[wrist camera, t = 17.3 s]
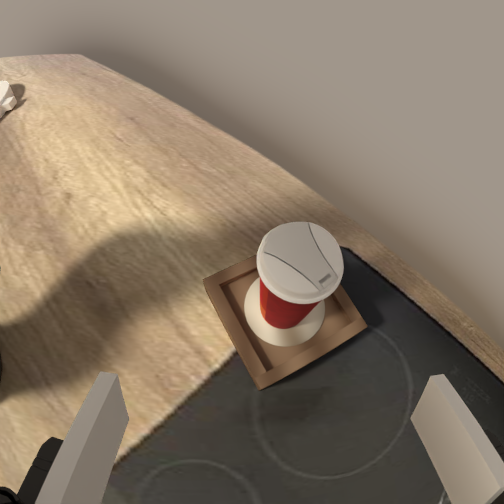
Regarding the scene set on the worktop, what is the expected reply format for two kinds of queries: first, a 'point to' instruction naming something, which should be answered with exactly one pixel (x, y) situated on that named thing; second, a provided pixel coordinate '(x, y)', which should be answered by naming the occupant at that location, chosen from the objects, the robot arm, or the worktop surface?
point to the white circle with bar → (6, 98)
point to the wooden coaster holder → (273, 339)
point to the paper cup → (296, 271)
